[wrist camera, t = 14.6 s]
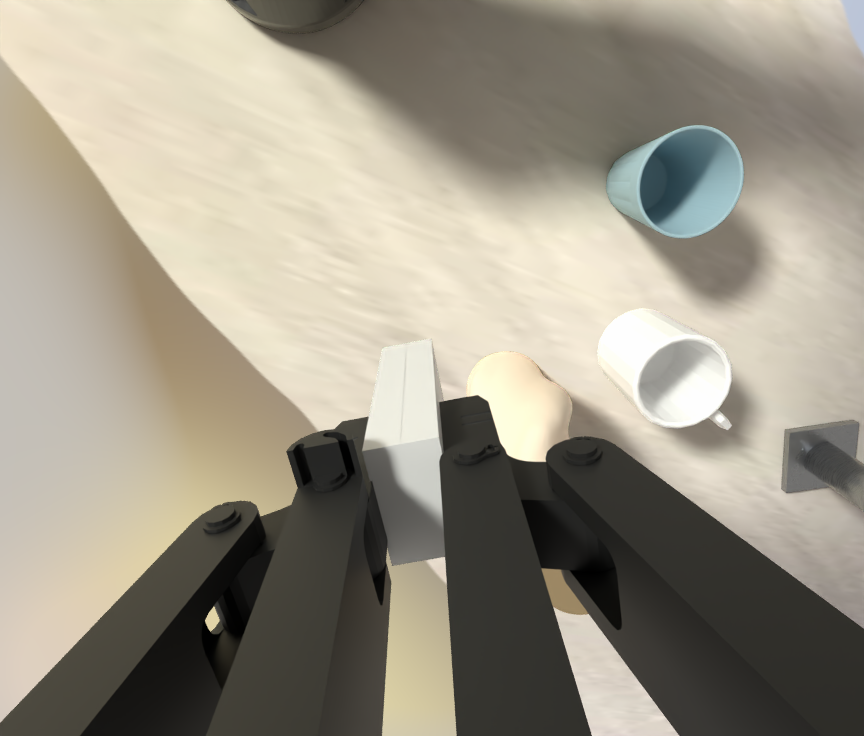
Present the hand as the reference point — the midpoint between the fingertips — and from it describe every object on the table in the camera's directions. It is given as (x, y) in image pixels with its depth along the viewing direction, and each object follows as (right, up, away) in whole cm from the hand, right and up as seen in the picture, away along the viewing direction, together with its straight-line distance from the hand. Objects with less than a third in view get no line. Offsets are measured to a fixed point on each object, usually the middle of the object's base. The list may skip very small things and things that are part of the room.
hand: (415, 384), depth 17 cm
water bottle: (+8, -2, +39) cm, 40 cm away
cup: (+19, +17, +33) cm, 42 cm away
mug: (+22, +1, +38) cm, 44 cm away
